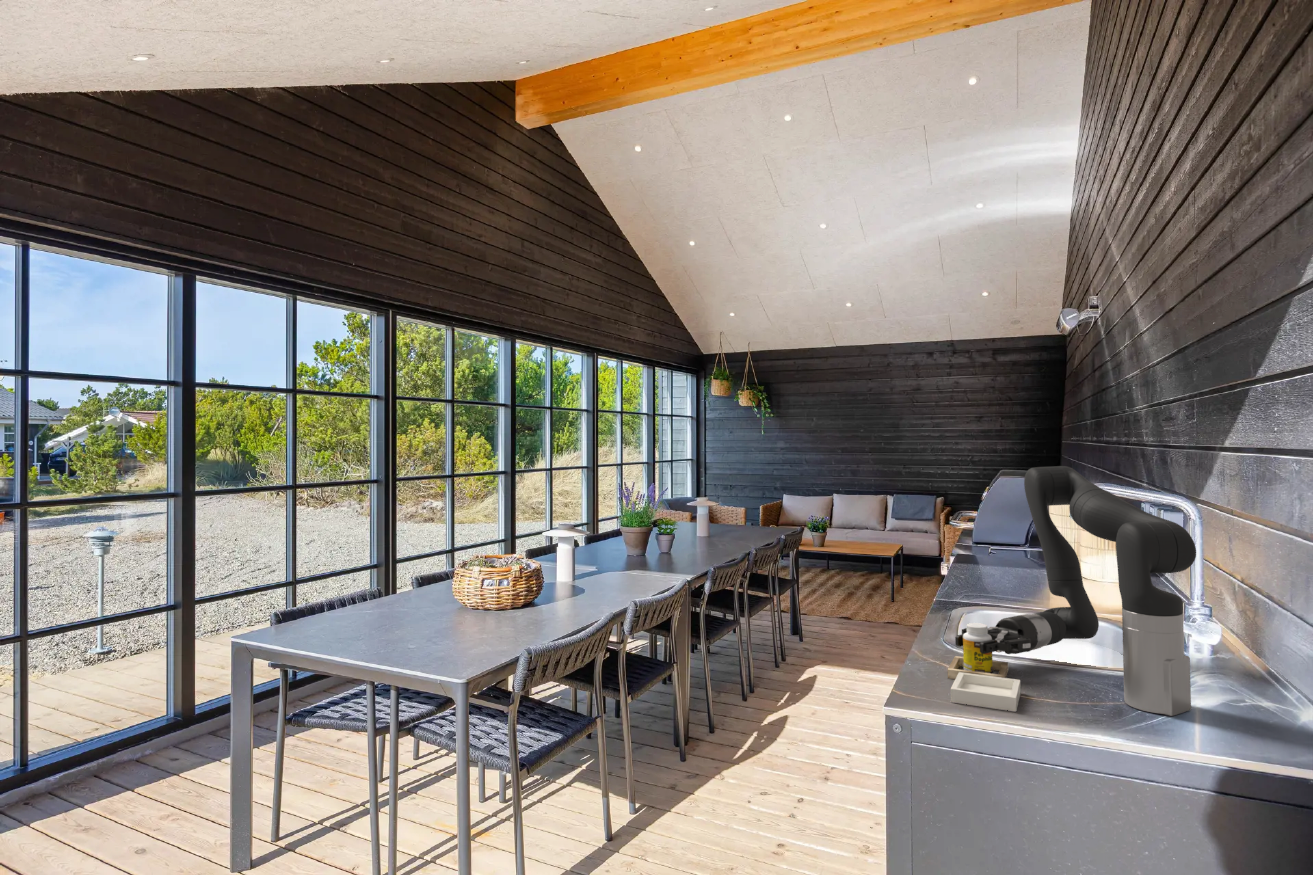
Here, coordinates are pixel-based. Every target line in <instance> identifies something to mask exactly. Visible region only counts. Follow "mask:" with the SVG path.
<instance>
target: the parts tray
mask: <svg viewBox="0 0 1313 875" xmlns="http://www.w3.org/2000/svg"><path fill="white" fill-rule="evenodd" d="M1021 688H1022V687H1021V679H1015V678H1008V677H1006V678H1001V677H993V676H985V675H978V674H970V673H962V672H959V673H958V675H957V677H956V679H954V681H953V683H952V685H951V687H950V703H954V704H955V703H956V704H959V705H966V704H967V706H974V707H980V708H981V707H983V708H987V709H994V710H1000V711H1001V710H1002V711H1007V710H1008V711H1009V712H1014V713H1015V712H1017V710H1018V706H1019V703H1020V702H1019V701H1020V698H1021Z"/></svg>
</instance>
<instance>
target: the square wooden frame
mask: <svg viewBox="0 0 1313 875" xmlns="http://www.w3.org/2000/svg"><path fill="white" fill-rule="evenodd" d="M992 662H993V672H995V671H996V672H998V674H997V673H993V674H991V673H983V672H975V671H967V670H964V669H959V668H960V667H962V668H964V659H963V656H958V655H955V656H954V658H953V659H952V661H951V662H950V664H949V666H948V668H947V679H951V680H952V679H953V680H955V679H956V677H957V675H958V673H959V672H962V673H970V674H978V675H985V676H993V677H1001V678H1007V676H1008V673H1009V662H1008V661H1002V660H1001V661H1000V660H999V661H998V660H993V659H992Z"/></svg>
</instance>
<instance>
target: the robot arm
mask: <svg viewBox="0 0 1313 875" xmlns="http://www.w3.org/2000/svg"><path fill="white" fill-rule="evenodd" d="M1023 482H1024V484H1023V485H1024V493H1025V497H1026V498H1025V499H1026V500H1027V501H1026V502H1027V503H1028V504H1027V505H1028V508H1029V512H1030V515H1031V518H1032V522H1033V524H1034V529H1035V531H1036V534H1037V537H1038V539H1039V542H1040V543H1039V544H1040V546H1041V550H1042V555H1043V560H1044V566H1045V570H1046V578H1047V582H1048V583H1047V585H1048V588H1049V589H1048V590H1049V591H1050V593H1051V594H1052V595H1053V596H1056V597H1061V598H1064V599H1066V601H1067V602H1068V604H1069V606H1062V607H1061V606H1060V607H1059V606H1058V607H1052V608H1049V609H1046V610H1044V611H1041V612H1036V613H1026V614H1020V615H1014V616H1010V617H1004V618H1002V619H1000V620H999V621H998V622H997V623H996V625H995V626H989V627H987V629H988V633H987V634H989V635H990V636H991V637H992V640H989V641H984V642H981V643H980V652H981V653H983V654H986V653H990V652H992V653H994V652H995V653H1003V652H1004V654H1007V655H1013V654H1014V655H1017V654H1022V653H1027V652H1028V653H1029V652H1031V651H1035V650H1039V649H1041V648H1043V647H1045V646H1046V647H1047V646H1049V645H1050V646H1052V645H1054V644H1057V643H1059V642H1061V641H1063V640H1064V639H1065V640H1066V639H1067V640H1069V639H1071V640H1087V639H1089V640H1090V639H1092V638H1094V637H1095V636H1096V635H1097V633H1098V630H1099V627H1100V626H1099V624H1100V623H1099V618H1098V615H1097V613H1096V610H1095V608H1094V606H1093V604H1092V602H1091V600H1090V597H1089V596H1088V594H1087V591H1086V588H1085V586H1084V582H1083V574H1082V569H1081V563H1080V560H1079V556H1078V555H1077V552H1076V551H1075V550H1074V548H1073V546H1072V545H1071V543H1069V541H1068V540H1067V539H1066V537H1065V536H1064V535H1063V534H1062V532H1060V531H1059V530H1058V528H1057V526H1056V525H1055V523H1054V522H1053V520H1052V517H1051V515H1050V512H1049V507H1048V506H1050V507H1051V506H1065V505H1066V506H1069V514H1070V517H1071V518H1072V520H1073V521H1074V523H1075V524H1076V525H1077V526H1079V527H1080V528H1082V529H1083V530H1084V531H1086V532H1088V533H1089V534H1090V535H1093V536H1094V537H1096V538H1100V539H1102V540H1106V541H1109V542H1114V543H1115V553H1116V554H1115V555H1116V563H1117V580H1118V589H1119V594H1120V598H1121V607H1122V608H1121V614H1122V615H1121V618H1122V619H1121V620H1122V621H1121V622H1122V625H1121V626H1122V629H1121V630H1122V659H1123V660H1122V663H1123V665H1122V666H1123V671H1122V672H1123V696H1124V697H1123V699H1124V700H1123V702H1124V703H1125V704H1126V705H1128V706H1130V707H1131V708H1134V709H1136V710H1140V711H1144V712H1148V713H1154V714H1161V715H1166V716H1170V717H1174V716H1177V715H1180V714H1183V713H1185V712H1189V711H1191V710H1192V692H1191V691H1192V689H1191V658H1190V657H1189V656H1188V655H1185V644H1184V643H1185V642H1184V640H1185V639H1184V638H1185V636H1184V634H1185V633H1184V632H1185V631H1184V602H1183V599H1182V598H1181V597H1180V596H1179V595H1177V594H1175V593H1173V592H1169V591H1165V590H1162V589H1160V588H1157V587H1156V586H1155V585H1154V584H1153V582H1152V577H1151V574H1174V573H1175V574H1176V573H1179V572H1183V571H1186V570H1187V569H1189V568H1191V567H1192V565H1193V564H1194V562H1195V560H1196V557H1197V546H1196V544H1195V541H1194V540H1193V537H1192V536H1191V534H1190V533H1189V532H1188V531H1187V530H1186V529H1185V528H1184V527H1183V526H1181V525H1180V524H1178V523H1177V522H1174V521H1172V520H1168V519H1165V518H1162V517H1160V516H1157V515H1154V514H1152V513H1149V512H1147V511H1144V510H1143V509H1142V508H1140V507H1137V506H1135V505H1133V504H1131V503H1129V502H1128V501H1125V500H1124V499H1122V498H1121V497H1119V496H1117V494H1116V495H1115V494H1113V493H1112V492H1110V491H1108V490H1106V489H1103V488H1101V487H1099V486H1098V485H1096V484H1094V482H1091V481H1089V480H1088V479H1087V478H1085V476H1083V475H1082V474H1081V473H1080V472H1078V471H1077V470H1075V469H1074V468H1072V467H1070V466H1066V465H1057V466H1054V465H1053V466H1037V467H1035V466H1034V467H1031V468H1029V469H1028V470H1027V471H1026V473H1025V475H1024V480H1023ZM966 632H967V627H965V628H963V629H961V634H956V635H955V637H954V638H955V641H954V642H955V643H954V644H955V646H956V647H963V634H964V633H966Z"/></svg>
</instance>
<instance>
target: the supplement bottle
mask: <svg viewBox="0 0 1313 875" xmlns="http://www.w3.org/2000/svg"><path fill="white" fill-rule="evenodd" d="M966 628H967V632H966V633H964V634H963V646H962V648H963V653H962V654H963V655H962V657H963V659H964V667H963V670H967V671H975V672H983V673H991V674H994V670H993V662H992V660H993V652H990V653H986V654H983V653H981V652H980V643H981V642H984V641H989V640H992V637H991V636H990V635H989V634H987V633H988V629H987V628H988V625H987V624H985V623H980V622H970V623H967V624H966Z"/></svg>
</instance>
